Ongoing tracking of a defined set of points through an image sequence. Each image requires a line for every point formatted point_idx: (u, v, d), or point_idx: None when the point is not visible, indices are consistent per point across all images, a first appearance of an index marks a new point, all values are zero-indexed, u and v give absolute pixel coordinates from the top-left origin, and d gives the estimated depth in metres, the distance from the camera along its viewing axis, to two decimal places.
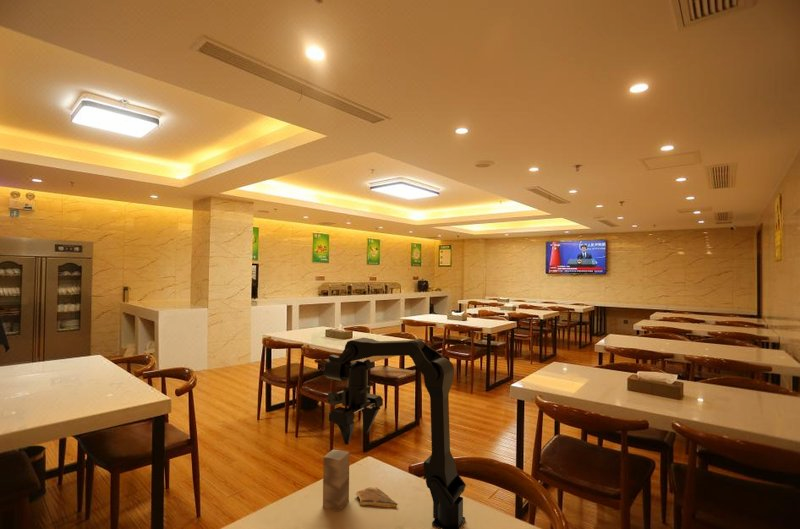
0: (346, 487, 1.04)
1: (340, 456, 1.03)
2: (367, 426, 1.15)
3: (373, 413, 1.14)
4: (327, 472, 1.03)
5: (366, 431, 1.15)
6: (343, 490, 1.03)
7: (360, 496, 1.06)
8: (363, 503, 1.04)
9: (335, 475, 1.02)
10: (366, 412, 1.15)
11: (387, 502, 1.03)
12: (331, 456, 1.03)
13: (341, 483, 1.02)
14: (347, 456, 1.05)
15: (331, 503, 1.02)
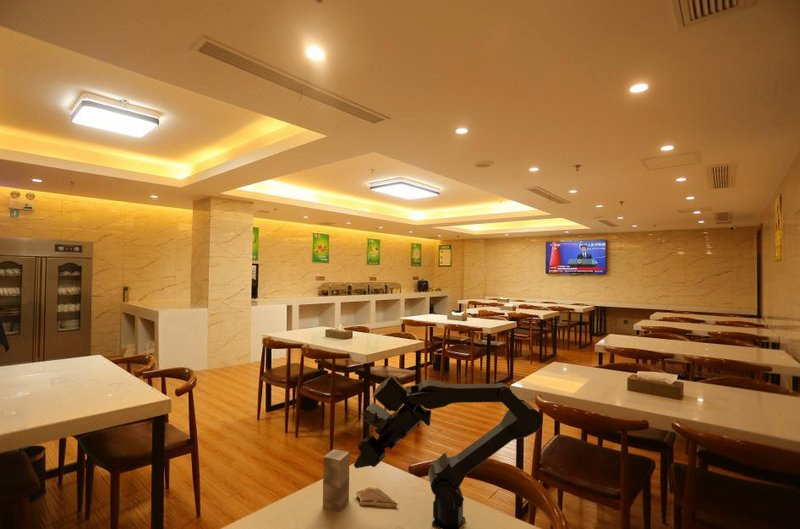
0: (346, 487, 1.04)
1: (340, 456, 1.03)
2: None
3: None
4: (327, 472, 1.03)
5: None
6: (343, 490, 1.03)
7: (360, 496, 1.06)
8: (363, 503, 1.04)
9: (335, 475, 1.02)
10: None
11: (387, 502, 1.03)
12: (331, 456, 1.03)
13: (341, 483, 1.02)
14: (347, 456, 1.05)
15: (331, 503, 1.02)
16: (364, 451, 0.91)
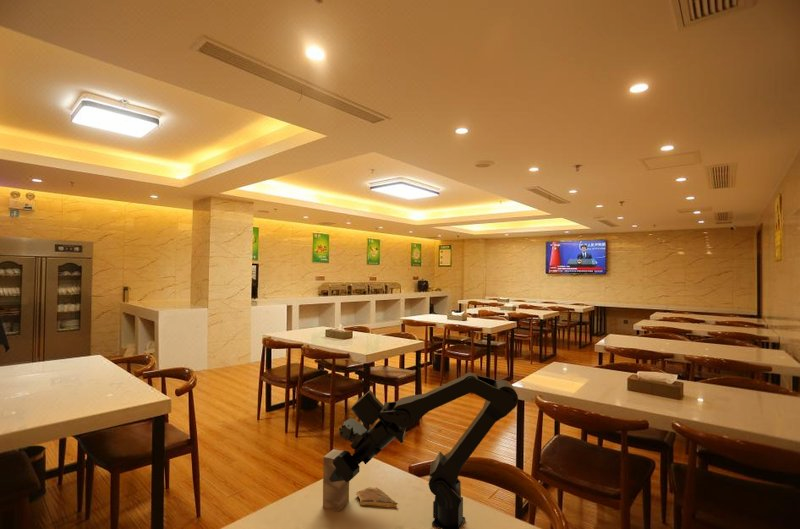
0: (346, 487, 1.04)
1: None
2: None
3: None
4: (327, 472, 1.03)
5: None
6: (343, 490, 1.03)
7: (360, 496, 1.06)
8: (363, 503, 1.04)
9: None
10: None
11: (387, 502, 1.03)
12: (331, 456, 1.03)
13: (341, 483, 1.02)
14: None
15: (331, 503, 1.02)
16: (338, 466, 0.94)
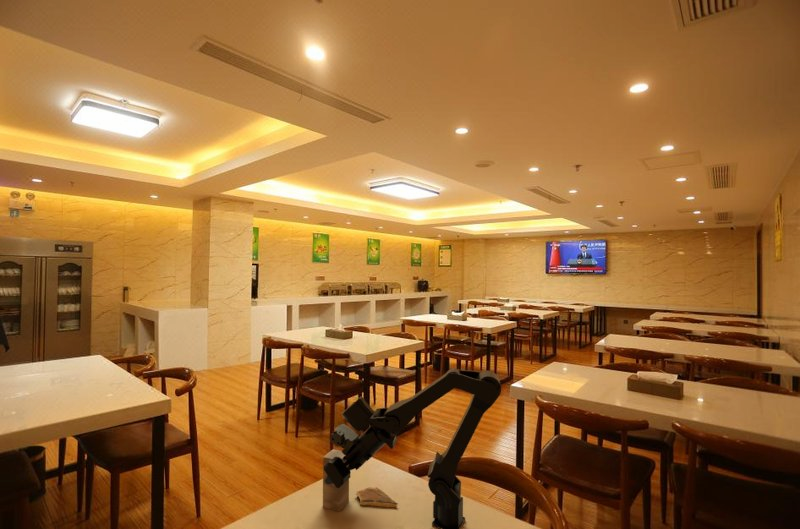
0: (346, 487, 1.04)
1: (339, 456, 1.03)
2: None
3: None
4: None
5: None
6: (343, 490, 1.03)
7: (360, 496, 1.06)
8: (363, 503, 1.04)
9: None
10: None
11: (387, 502, 1.03)
12: (331, 456, 1.03)
13: None
14: None
15: (331, 503, 1.02)
16: (329, 472, 0.94)
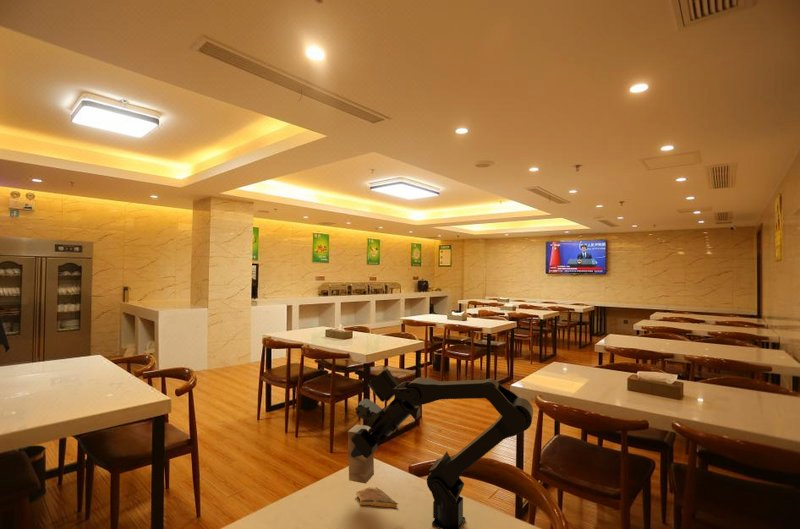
0: (371, 461, 1.06)
1: None
2: None
3: (380, 440, 1.07)
4: (352, 446, 1.04)
5: None
6: (369, 463, 1.05)
7: (360, 496, 1.06)
8: (363, 503, 1.04)
9: None
10: None
11: (387, 502, 1.03)
12: (355, 430, 1.05)
13: None
14: None
15: (357, 476, 1.03)
16: (357, 443, 0.96)
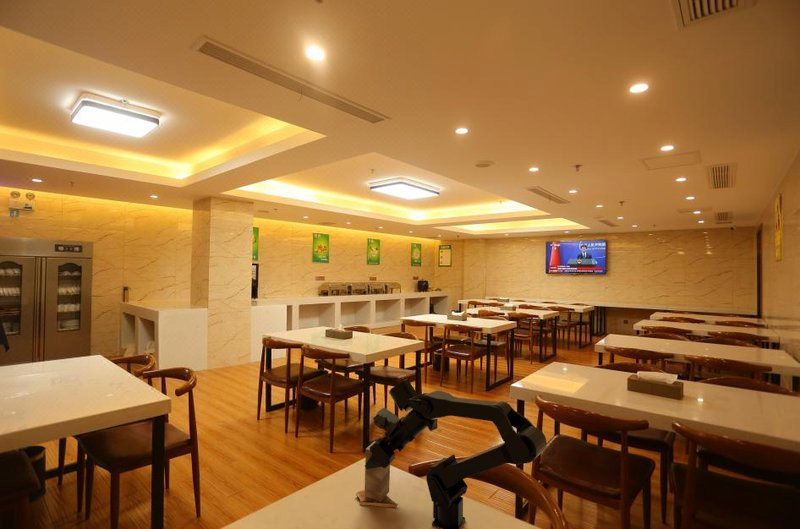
0: (387, 479, 1.06)
1: None
2: None
3: None
4: None
5: None
6: (385, 482, 1.05)
7: (360, 497, 1.06)
8: (363, 503, 1.04)
9: (377, 467, 1.04)
10: None
11: (387, 502, 1.03)
12: None
13: (382, 475, 1.04)
14: None
15: (372, 493, 1.04)
16: (375, 453, 0.97)
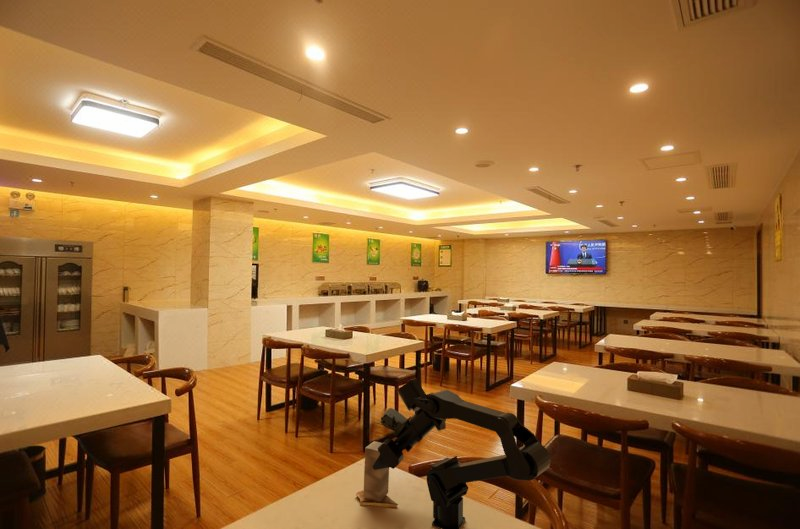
0: (386, 479, 1.07)
1: None
2: None
3: None
4: (368, 463, 1.05)
5: None
6: (384, 481, 1.05)
7: (360, 497, 1.06)
8: (363, 503, 1.04)
9: None
10: None
11: (387, 502, 1.03)
12: (372, 447, 1.06)
13: (382, 474, 1.04)
14: None
15: (372, 493, 1.04)
16: (384, 453, 0.97)
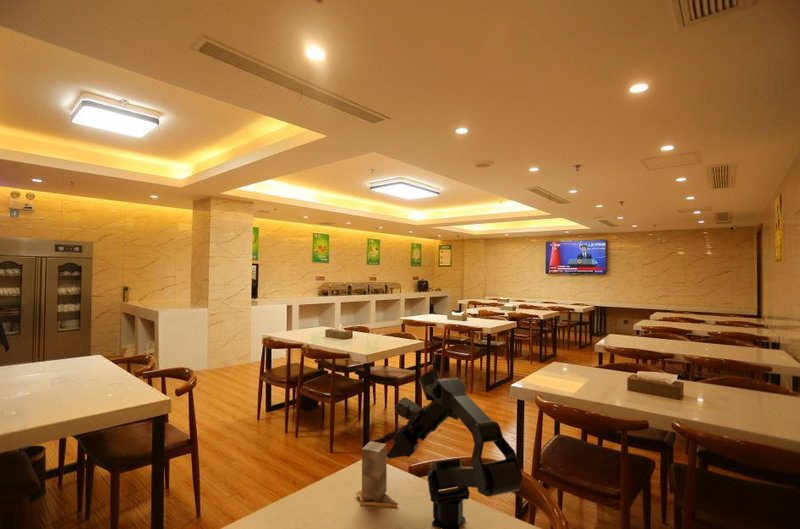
0: (384, 478, 1.07)
1: (378, 448, 1.05)
2: None
3: None
4: (365, 463, 1.05)
5: None
6: (382, 481, 1.05)
7: (360, 496, 1.06)
8: (364, 503, 1.04)
9: (374, 466, 1.04)
10: None
11: (387, 502, 1.04)
12: (369, 448, 1.06)
13: (379, 474, 1.04)
14: (385, 448, 1.07)
15: (370, 493, 1.04)
16: (399, 442, 0.96)
